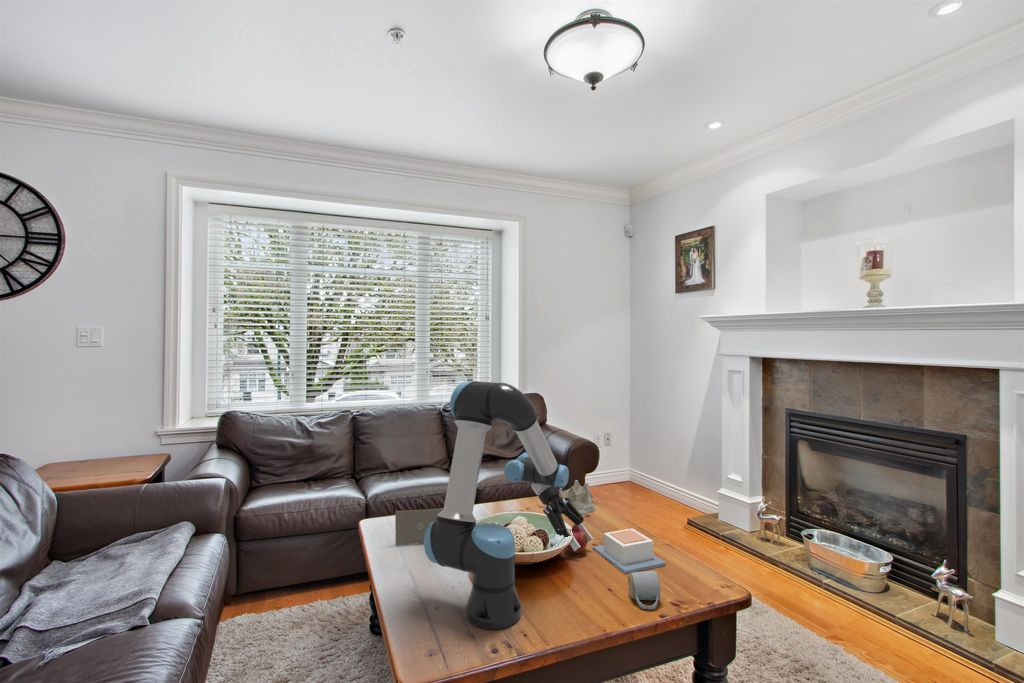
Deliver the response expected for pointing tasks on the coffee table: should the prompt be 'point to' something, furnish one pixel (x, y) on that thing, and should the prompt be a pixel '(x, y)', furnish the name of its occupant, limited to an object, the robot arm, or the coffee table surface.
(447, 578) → the coffee table surface
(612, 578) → the coffee table surface
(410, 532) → the laptop
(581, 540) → the fruit
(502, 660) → the coffee table surface
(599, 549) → the pedestal board
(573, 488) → the miniature stone castle
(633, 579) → the ceramic mug
